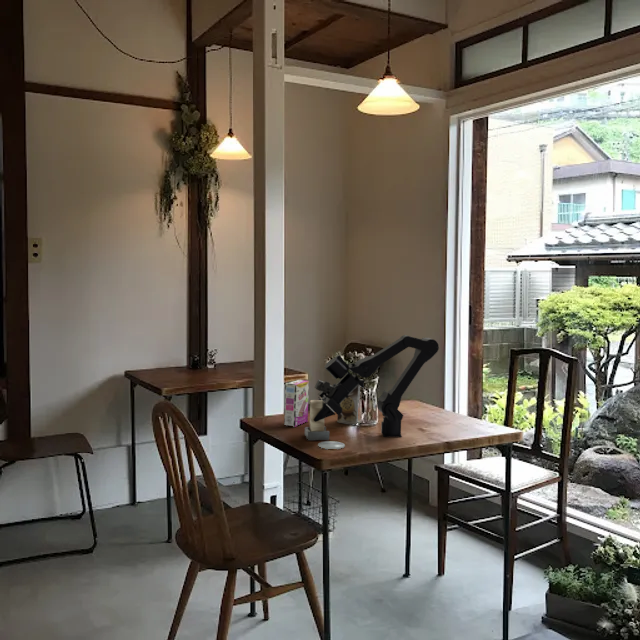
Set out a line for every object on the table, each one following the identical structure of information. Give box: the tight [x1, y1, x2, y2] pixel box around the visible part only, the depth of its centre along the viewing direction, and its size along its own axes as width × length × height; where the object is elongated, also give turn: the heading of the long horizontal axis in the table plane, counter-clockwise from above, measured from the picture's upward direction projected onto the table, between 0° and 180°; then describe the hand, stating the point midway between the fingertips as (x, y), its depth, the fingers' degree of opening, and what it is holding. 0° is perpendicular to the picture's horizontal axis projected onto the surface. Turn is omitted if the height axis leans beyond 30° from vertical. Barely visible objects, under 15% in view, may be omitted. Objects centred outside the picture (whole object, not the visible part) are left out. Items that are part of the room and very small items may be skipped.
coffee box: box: [336, 385, 361, 425], centre depth 283 cm, size 9×6×16 cm
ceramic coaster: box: [317, 440, 346, 450], centre depth 247 cm, size 9×9×1 cm
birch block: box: [309, 399, 325, 431], centre depth 258 cm, size 4×4×13 cm
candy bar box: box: [283, 379, 310, 428], centre depth 279 cm, size 11×5×16 cm, turn 154°
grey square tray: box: [304, 426, 330, 441], centre depth 259 cm, size 8×8×3 cm
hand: (313, 419), depth 258 cm, fingers closed on birch block, 4 cm apart
